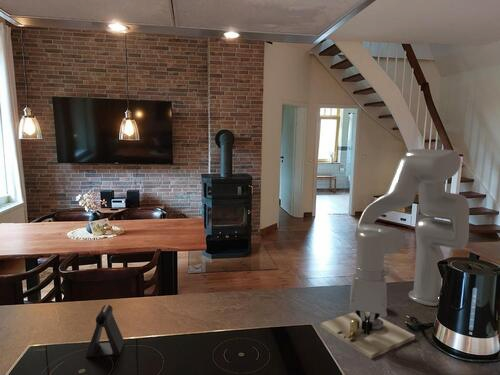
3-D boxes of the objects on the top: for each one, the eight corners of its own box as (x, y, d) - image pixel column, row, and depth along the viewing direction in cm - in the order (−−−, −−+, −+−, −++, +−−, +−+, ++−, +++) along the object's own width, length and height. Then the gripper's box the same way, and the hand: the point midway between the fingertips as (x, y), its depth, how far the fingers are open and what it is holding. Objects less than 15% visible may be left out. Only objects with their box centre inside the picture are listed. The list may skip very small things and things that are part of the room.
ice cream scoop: (370, 318, 116) (371, 305, 115) (386, 326, 111) (387, 312, 111) (339, 334, 106) (340, 319, 105) (356, 343, 101) (357, 327, 101)
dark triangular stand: (124, 342, 103) (123, 304, 101) (119, 355, 97) (118, 314, 95) (92, 344, 102) (90, 305, 100) (85, 357, 96) (83, 315, 94)
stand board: (363, 312, 124) (363, 308, 124) (414, 339, 107) (415, 334, 107) (320, 326, 114) (320, 322, 113) (370, 359, 97) (371, 354, 96)
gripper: (396, 271, 103) (392, 329, 105) (343, 265, 107) (341, 321, 110) (398, 281, 96) (394, 343, 98) (341, 274, 100) (339, 334, 103)
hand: (366, 332), depth 104 cm, fingers closed
